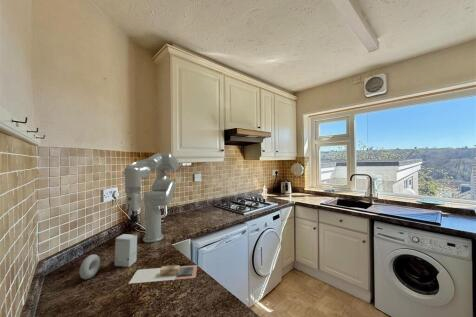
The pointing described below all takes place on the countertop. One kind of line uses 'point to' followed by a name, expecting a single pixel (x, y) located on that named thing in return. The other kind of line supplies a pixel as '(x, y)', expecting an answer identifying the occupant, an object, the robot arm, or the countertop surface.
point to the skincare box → (125, 250)
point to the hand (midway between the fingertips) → (133, 222)
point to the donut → (85, 265)
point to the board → (158, 275)
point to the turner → (176, 271)
